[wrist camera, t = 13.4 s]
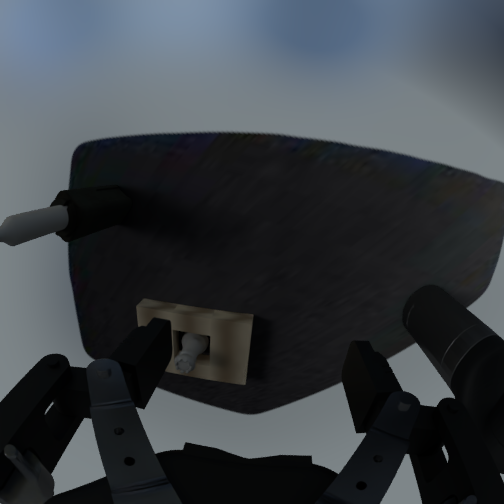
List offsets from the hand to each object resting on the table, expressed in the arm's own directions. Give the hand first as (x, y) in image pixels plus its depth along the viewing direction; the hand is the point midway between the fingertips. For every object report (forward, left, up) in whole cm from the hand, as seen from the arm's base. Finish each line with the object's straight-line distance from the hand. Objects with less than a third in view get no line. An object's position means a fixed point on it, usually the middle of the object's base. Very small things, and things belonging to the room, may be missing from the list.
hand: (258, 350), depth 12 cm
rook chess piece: (+10, +19, -28) cm, 35 cm away
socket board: (+10, +19, -28) cm, 35 cm away
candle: (+24, -2, -28) cm, 37 cm away
